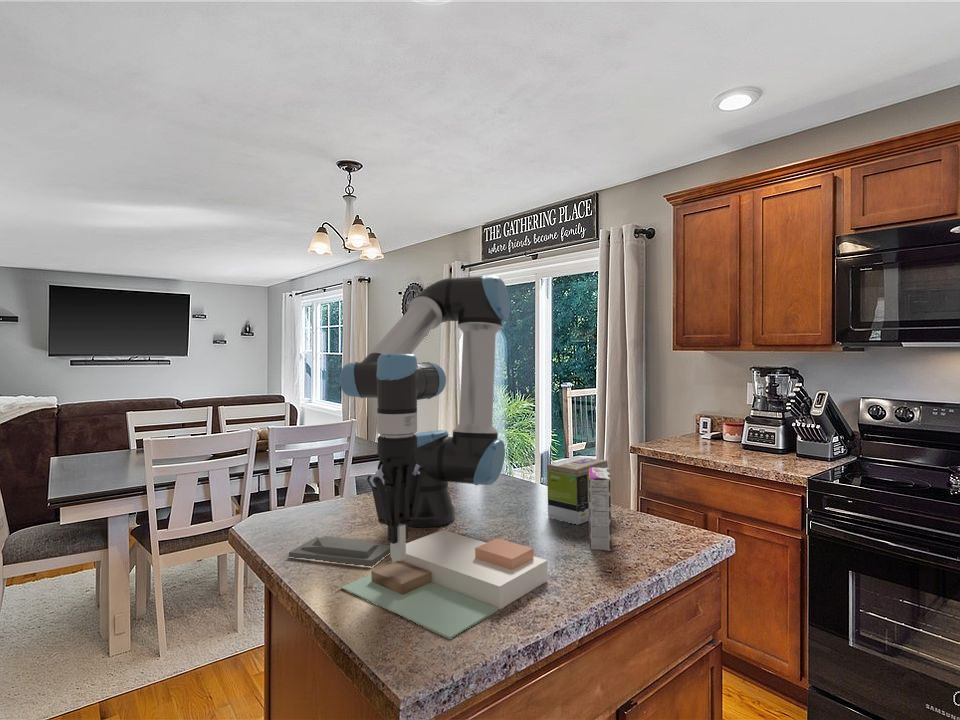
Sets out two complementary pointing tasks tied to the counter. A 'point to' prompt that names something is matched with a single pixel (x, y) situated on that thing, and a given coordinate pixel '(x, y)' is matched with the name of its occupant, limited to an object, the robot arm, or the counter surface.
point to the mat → (426, 606)
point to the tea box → (570, 488)
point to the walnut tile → (401, 577)
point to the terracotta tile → (504, 553)
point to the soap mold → (342, 550)
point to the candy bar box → (599, 509)
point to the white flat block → (472, 569)
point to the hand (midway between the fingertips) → (398, 558)
